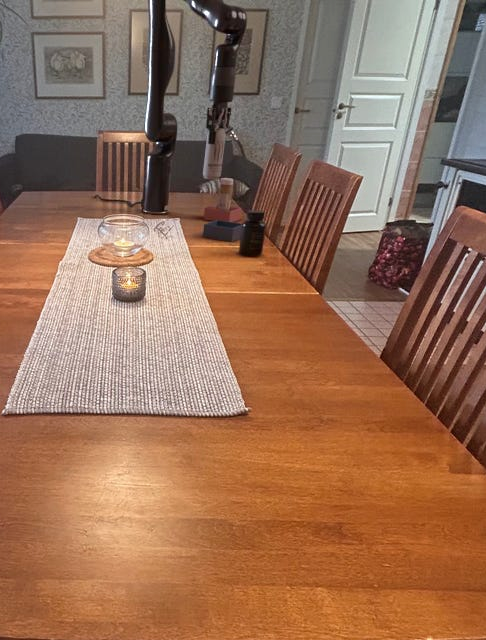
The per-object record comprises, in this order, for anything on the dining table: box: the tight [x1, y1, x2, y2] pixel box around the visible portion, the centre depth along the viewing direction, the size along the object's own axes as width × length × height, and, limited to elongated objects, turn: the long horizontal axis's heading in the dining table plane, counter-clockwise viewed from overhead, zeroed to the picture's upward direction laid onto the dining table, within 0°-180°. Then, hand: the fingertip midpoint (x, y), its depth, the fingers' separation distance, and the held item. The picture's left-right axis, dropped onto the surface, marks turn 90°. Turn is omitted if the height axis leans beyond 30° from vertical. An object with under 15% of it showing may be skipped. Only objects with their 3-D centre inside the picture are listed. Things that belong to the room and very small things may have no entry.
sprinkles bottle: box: [217, 177, 234, 211], centre depth 217 cm, size 5×5×14 cm
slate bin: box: [202, 220, 243, 243], centre depth 193 cm, size 10×10×4 cm
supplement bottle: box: [238, 209, 267, 258], centre depth 172 cm, size 7×7×12 cm
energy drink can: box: [202, 127, 227, 181], centre depth 198 cm, size 6×6×15 cm
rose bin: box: [203, 204, 242, 222], centre depth 220 cm, size 10×10×4 cm
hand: (215, 143), depth 197 cm, fingers closed on energy drink can, 6 cm apart
